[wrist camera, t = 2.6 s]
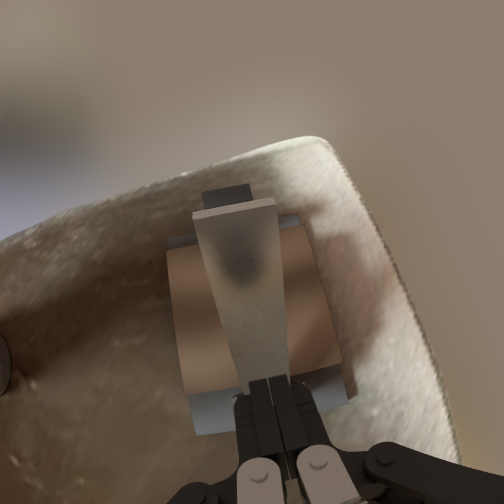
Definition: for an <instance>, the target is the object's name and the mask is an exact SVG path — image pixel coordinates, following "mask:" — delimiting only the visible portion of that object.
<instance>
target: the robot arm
mask: <svg viewBox="0 0 504 504" xmlns="http://www.w3.org/2000/svg"><path fill="white" fill-rule="evenodd" d="M10 373H11V360H10V354H9V350H8V347H7V344H6V342H5V340H4V339H3V337H2V336H1V335H0V395H2V394H3V393H4V392H5V390H6V388H7V386H8V383H9V379H10ZM268 381H269V386H270V391H271V395H270V391H269V386H268V382H267V378H263V379H258V380H253V381H249V388H250V394H248V395H243V396H238V397H237V399H236V402H235V404H234V407H233V408H234V417H235V426H236V435H237V444H238V453H239V465H238V468H237V470H236V471H235V473H234V474H233V475H231V476H230V477H229V478H227V479H225V480H223V481H220V482H218V483H215V484H213V485H208V484H206V483H202V482H194V483H190V484H187V485H185V486H184V487H182V488H181V489H180V490H179V491H178V492H177V493H176V494H175V495H174V496H173V497H172V498H171V499H170V501H169V502H168V503H167V504H287V490H286V486H285V481H286V480H289V475H288V470H287V465H288V469H289V473H290V477H291V479H295V478H297V481H298V484H299V488H300V494H301V498H302V500H303V503H304V504H504V476H500V475H496V474H491V473H488V472H483V471H480V470H476V469H472V468H468V467H465V466H462V465H458V464H455V463H452V462H448V461H445V460H442V459H439V458H436V457H433V456H430V455H427V454H424V453H421V452H418V451H415V450H413V449H410V448H407V447H404V446H402V445H399V444H397V443H393V442H381V443H378V444H376V445H374V446H372V447H371V448H370V449H369V450H368V451H360V452H347V451H342V450H340V449H338V448H336V447H335V446H334V445H332V443H331V442H330V440H329V438H328V435H327V432H326V430H325V427H324V425H323V422H322V419H321V417H320V414H319V411H318V409H317V406H316V404H315V401H314V398H313V396H312V393H311V391H310V390H309V389H308V388H307V387H306V386H305V385H304V384H302V383H300V384H296V385H291V386H290V384H289V381H288V378H287V375H286V374H282V375H277V376H273V377H268ZM271 397H272V399H271ZM272 402H273V403H272ZM282 444H283V445H282ZM283 448H284V449H283ZM285 457H286V459H285ZM286 461H287V464H286Z"/></svg>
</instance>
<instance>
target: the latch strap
mask: <svg viewBox="0 0 504 504" xmlns="http://www.w3.org/2000/svg"><path fill="white" fill-rule="evenodd" d="M193 224H194V228H195V231H196V235H197V239H198V243H199V246H200V250H201V254H202V258H203V261H204V265H205V268H206V272H207V276H208V279H209V283H210V286H211V290H212V293H213V297H214V300H215V303H216V307H217V310H218V314H219V317H220V320H221V324H222V327H223V330H224V333H225V337H226V340H227V343H228V346H229V350H230V353H231V356H232V359H233V362H234V365H235V368H236V372H237V375H238V378H239V381H240V384H241V387H242V390H243V393H244V395H248V394H250V388H249V381H253V380H258V379H263V378H267V382H268V386H269V381H268V377H273V376H277V375H282V374H286V375H287V378H288V381H289V384H290V370H289V353H288V338H287V323H286V309H285V296H284V283H283V271H282V259H281V247H280V236H279V225H278V214H277V204H276V202H275V200H274V198H273V197H270V198H264V199H259V200H253V201H248V202H242V203H237V204H232V205H227V206H221V207H216V208H211V209H206V210H201V211H197V212H193ZM269 391H270V386H269ZM270 395H271V391H270ZM271 399H272V397H271ZM272 403H273V402H272Z"/></svg>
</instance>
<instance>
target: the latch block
mask: <svg viewBox="0 0 504 504" xmlns="http://www.w3.org/2000/svg"><path fill="white" fill-rule="evenodd" d="M202 195H203V202H204V209H205V210H206V209H211V208H216V207H221V206H227V205H232V204H237V203H242V202H248V201H253V197H252V193H251V189H250V185H249V183H248V184H243V185H237V186H232V187H227V188H221V189H216V190H211V191H206V192H202ZM278 225H279V236H280V247H281V259H282V271H283V283H284V296H285V309H286V323H287V338H288V353H289V370H290V386H291V385H296V384H300V383H302V384H304V385H305V386H306V387H307V388H308V389H309V390H310V391H311V393H312V396H313V398H314V401H315V404H316V406H317V409H318V411H319V412H322V411H326V410H329V409H333V408H336V407H340V406H343V405H346V404H349V402H348V398H347V394H346V389H345V385H344V381H343V377H342V372H341V368H340V364H339V363H342V362H343V360H342V356H341V352H340V348H339V344H338V341H337V337H336V333H335V329H334V325H333V322H332V318H331V314H330V311H329V307H328V303H327V300H326V296H325V293H324V289H323V286H322V282H321V279H320V275H319V272H318V269H317V265H316V262H315V259H314V255H313V252H312V249H311V245H310V242H309V239H308V236H307V233H306V229H305V226H304V224H301V225H300V222H299V218H298V215H297V214H291V215H286V216H280V217H278ZM167 240H168V250H167V251H166V255H167V266H168V277H169V286H170V295H171V304H172V312H173V320H174V327H175V334H176V341H177V348H178V354H179V361H180V367H181V373H182V379H183V384H184V390H185V395H187V394H188V397H189V402H190V408H191V413H192V417H193V422H194V427H195V432H196V435H205V434H213V433H221V432H228V431H234V430H236V426H235V417H234V408H233V407H234V404H235V402H236V399H237V397H238V396H243V395H244V393H243V390H242V387H241V384H240V381H239V378H238V375H237V372H236V368H235V365H234V362H233V359H232V356H231V353H230V350H229V346H228V343H227V340H226V337H225V333H224V330H223V327H222V324H221V320H220V317H219V314H218V310H217V307H216V303H215V300H214V297H213V293H212V290H211V286H210V283H209V279H208V276H207V272H206V268H205V265H204V261H203V258H202V254H201V250H200V246H199V243H198V239H197V235H196V233H192V234H187V235H183V236H178V237H173V238H168V239H167Z"/></svg>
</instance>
